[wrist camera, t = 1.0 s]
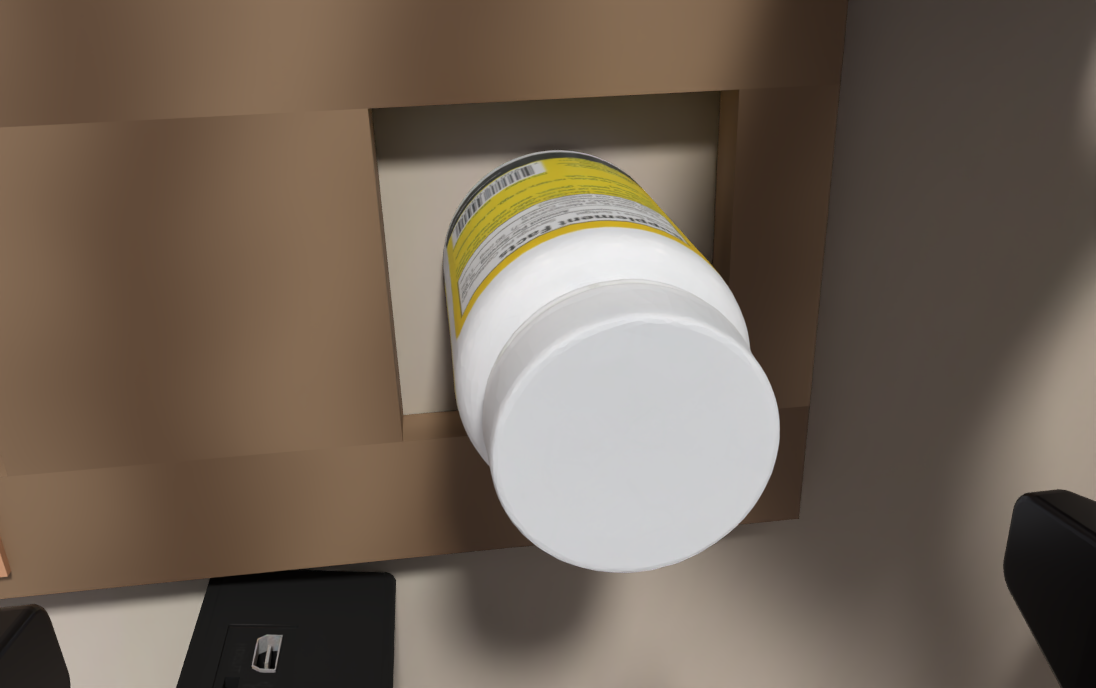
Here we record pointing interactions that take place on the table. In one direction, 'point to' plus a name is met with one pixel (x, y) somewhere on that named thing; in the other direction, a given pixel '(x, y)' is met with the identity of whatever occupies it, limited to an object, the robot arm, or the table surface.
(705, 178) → the table surface
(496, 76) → the jack panel
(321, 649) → the digital camera
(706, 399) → the supplement bottle
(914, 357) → the table surface
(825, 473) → the table surface
